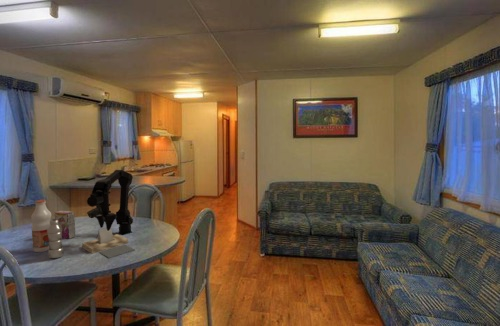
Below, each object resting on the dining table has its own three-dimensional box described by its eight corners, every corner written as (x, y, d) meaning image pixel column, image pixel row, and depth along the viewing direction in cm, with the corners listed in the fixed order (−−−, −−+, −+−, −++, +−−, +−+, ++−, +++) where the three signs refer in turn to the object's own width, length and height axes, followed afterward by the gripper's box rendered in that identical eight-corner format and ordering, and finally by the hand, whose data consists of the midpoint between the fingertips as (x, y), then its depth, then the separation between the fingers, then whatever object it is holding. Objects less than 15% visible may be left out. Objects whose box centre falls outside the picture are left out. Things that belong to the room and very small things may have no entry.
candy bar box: (55, 237, 177) (53, 212, 176) (62, 235, 182) (61, 210, 181) (68, 239, 174) (67, 213, 173) (76, 236, 179) (74, 211, 178)
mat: (124, 245, 163) (124, 244, 163) (134, 250, 155) (134, 249, 155) (99, 252, 152) (99, 251, 152) (108, 258, 144) (108, 257, 144)
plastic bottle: (53, 255, 149) (50, 218, 148) (66, 254, 150) (64, 218, 148) (45, 260, 143) (42, 221, 141) (59, 259, 143) (57, 221, 142)
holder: (117, 237, 175) (117, 234, 175) (128, 242, 166) (127, 238, 166) (82, 247, 160) (82, 243, 160) (91, 253, 151) (91, 248, 151)
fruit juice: (38, 247, 161) (35, 199, 159) (56, 245, 163) (53, 198, 161) (29, 253, 152) (25, 202, 150) (49, 251, 154) (45, 201, 152)
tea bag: (112, 244, 165) (112, 227, 164) (101, 247, 159) (100, 230, 159) (110, 242, 167) (109, 226, 166) (98, 246, 162) (97, 229, 161)
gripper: (82, 202, 161) (83, 229, 162) (95, 207, 149) (96, 236, 150) (102, 199, 170) (103, 224, 171) (116, 203, 158) (117, 230, 159)
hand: (104, 229), depth 163 cm, fingers open, 9 cm apart
